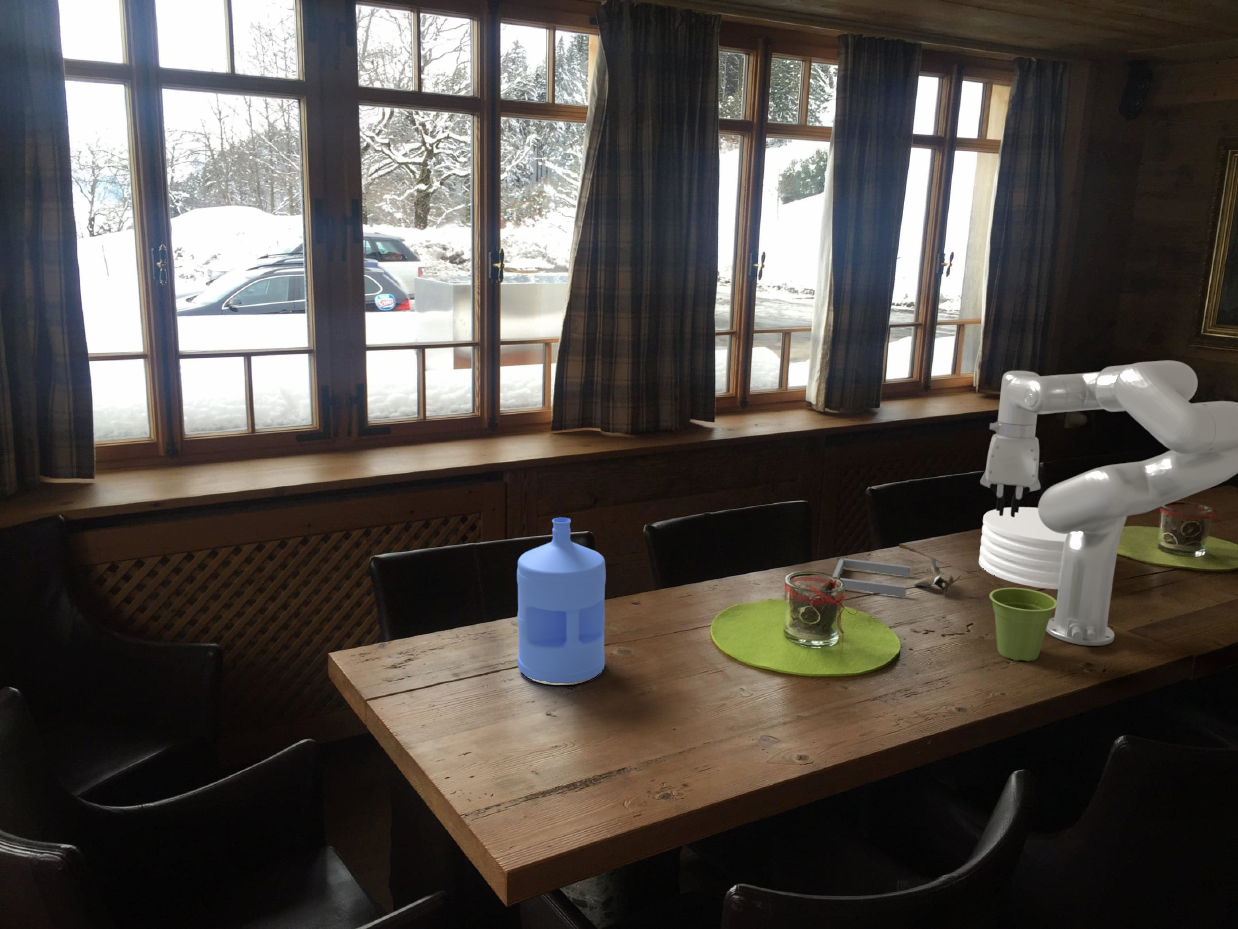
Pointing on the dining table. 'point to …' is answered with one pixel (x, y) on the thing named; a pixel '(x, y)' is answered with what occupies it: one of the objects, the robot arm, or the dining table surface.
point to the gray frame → (876, 567)
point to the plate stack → (1021, 548)
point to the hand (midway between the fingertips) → (1006, 514)
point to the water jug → (561, 610)
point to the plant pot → (1021, 621)
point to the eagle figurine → (937, 579)
